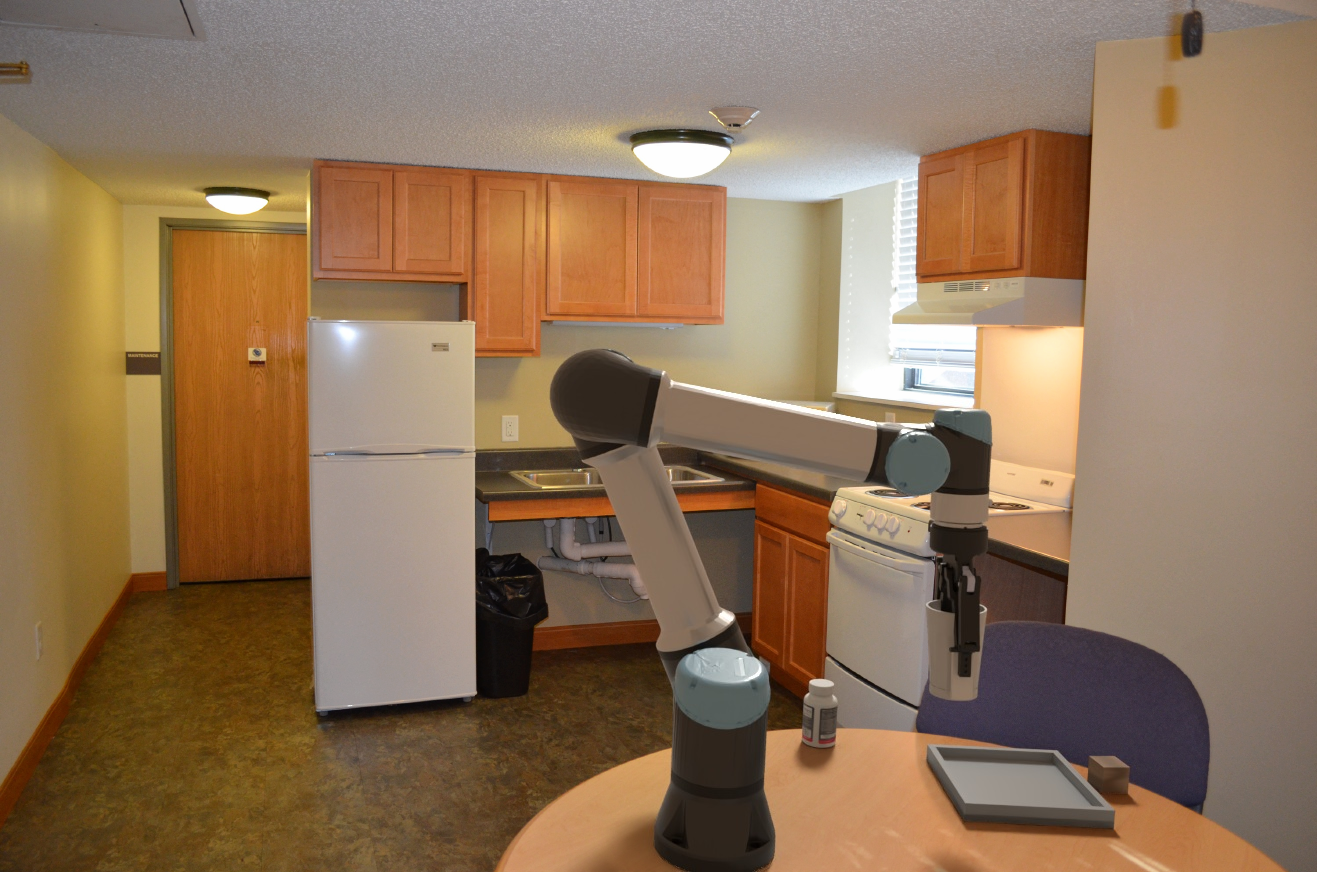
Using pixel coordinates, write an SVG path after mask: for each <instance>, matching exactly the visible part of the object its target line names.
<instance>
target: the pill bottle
mask: <svg viewBox="0 0 1317 872" xmlns="http://www.w3.org/2000/svg"><path fill="white" fill-rule="evenodd" d="M808 691H809V692H808V693H806V694H805V695H804V697H803V707H802V708H803V711H802V727H801V728H802V729H801V739H802V742H803V743H804V744H805V745H807V746H809V747H811V748H812V747H813V748H821V749H822V748H824V749H825V748H831V747H833V746H835V744H836V742H837V741H836V738H837V737H836V736H837V724H838V723H837V722H838V721H837V720H838V708H839V707H838V706H839V705H838V702H839V701H838V698H837V697H836V696H835V695H834V693H835V683H834V682H833V681H831V680H829V679H825V678H824V679H823V678H816V679H815V678H814V679H811V680H809V683H808Z"/></svg>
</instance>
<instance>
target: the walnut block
mask: <svg viewBox="0 0 1317 872" xmlns="http://www.w3.org/2000/svg"><path fill="white" fill-rule="evenodd" d="M1130 769H1131V767H1130V766H1129V765H1127V764H1126V763H1125V762H1123V761H1122V760H1120V759H1119V758H1118V757H1116V756H1115V755H1089V756H1088V766H1087V780H1086V781H1087V782H1088V783H1089V784H1090V785H1091V786H1092V787H1093V788H1094V789H1095V790H1096V791H1097V792H1098V793H1100V794H1129V783H1130V772H1131V770H1130Z"/></svg>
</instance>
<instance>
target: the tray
mask: <svg viewBox="0 0 1317 872" xmlns="http://www.w3.org/2000/svg"><path fill="white" fill-rule="evenodd" d="M926 745H927V747H926V757H925V758H926V759H925V760H926V762H927V764H928V765H929V766H930V768H931V770H932V772H933V773H934V774H935V777H936V778H937V780H938V781H939V783H940V784H941V786H942V788H943V789H944V792H946V794H947V796H948V797H949V799H950V801H951V802H952V804H953V805H954V807H955V809H956V810H957V812H958V814H959V816H960V817H961V818H962V820H963V822H976V823H994V824H996V823H997V824H1017V825H1037V826H1051V827H1052V826H1056V827H1074V828H1075V827H1078V828H1079V827H1080V828H1092V829H1093V828H1094V829H1115V819H1116V810H1115V808H1114V807H1113V806H1111V804H1110V803H1109V802H1108V801H1107V800H1106V799H1105V798H1104V797H1103V796H1102V795H1101V793H1100V792H1099V791H1098V790H1097V789H1096V788H1094V787H1093V786H1092V785H1091V784H1090V783H1088V782H1087V780H1086V778H1085V777H1084V776H1082V774H1081V773H1080V772H1079V771H1078V770H1077V769H1076V768H1075V767H1074V766H1073V765H1072V764H1071V763H1070V762H1069V761H1068V760H1067V759H1066V757H1064V756H1063V755H1062V753H1061V752H1060V751H1059V750H1057V749H1055V750H1053V749H1035V748H1034V749H1033V748H1017V747H1016V748H1015V747H1013V748H1012V747H996V746H994V747H993V746H975V745H973V746H972V745H956V744H955V745H954V744H953V745H952V744H934V743H932V744H931V743H927V744H926Z"/></svg>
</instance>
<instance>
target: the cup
mask: <svg viewBox="0 0 1317 872" xmlns="http://www.w3.org/2000/svg"><path fill="white" fill-rule="evenodd" d="M925 610H926V614H925V615H926V628H927V629H926V630H927V631H926V632H927V648H928V649H927V650H928V673H929V674H928V676H929V677H928V678H929V683H928V684H929V685H928V687H929V689H928V690H929V693H930V695H932V696H934V697H936V698H939V699H941V700H948V701H952V702H953V701H954V702H955V701H956V702H967V701H968V702H969V700H955V699H951V698H950V689H951V661H952V652H950V651H949V648H950V647H954V646H955V645H954V616H955V614H954V613H948V612H942V611H941V600H935V599H934V600H930V601H928V602H926V603H925ZM987 615H988V608H987V607H986V606H985V605H983V604H980V651H979V652H975V653H974V668H973V695H972V700H971V701H973V700H974V699H977V697H978V691H979V689H978V688H979V681H980V680H979V678H980V671H981V664H982V662H981V661H982V655H983V648H984V647H983V646H984V639H985V638H984V637H985V636H984V635H985V630H986V622H987V617H988V616H987Z"/></svg>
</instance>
